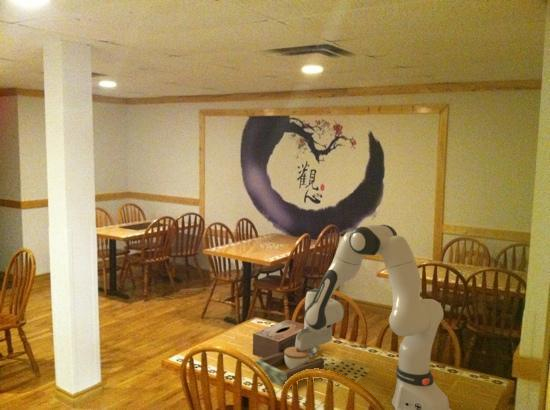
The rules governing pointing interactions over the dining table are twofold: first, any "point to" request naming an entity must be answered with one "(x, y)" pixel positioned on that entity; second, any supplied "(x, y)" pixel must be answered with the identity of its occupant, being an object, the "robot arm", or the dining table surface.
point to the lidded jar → (295, 357)
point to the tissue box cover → (275, 338)
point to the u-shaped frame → (278, 360)
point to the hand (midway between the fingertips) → (313, 355)
